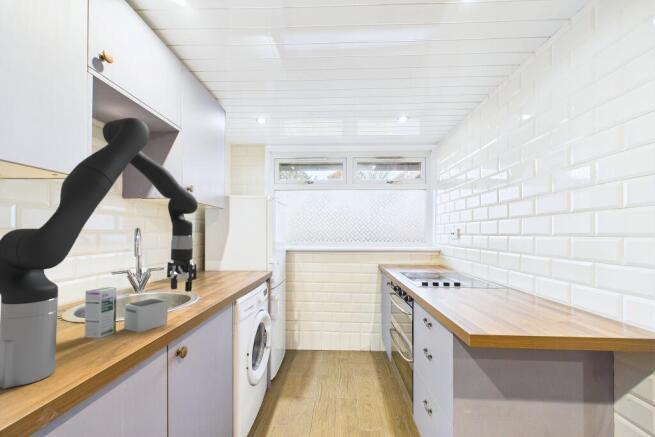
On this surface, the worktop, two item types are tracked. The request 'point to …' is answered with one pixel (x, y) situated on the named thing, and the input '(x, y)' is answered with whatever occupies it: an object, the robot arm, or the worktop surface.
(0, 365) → the robot arm
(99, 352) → the worktop surface
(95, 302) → the syrup box
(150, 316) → the grey storage bin
